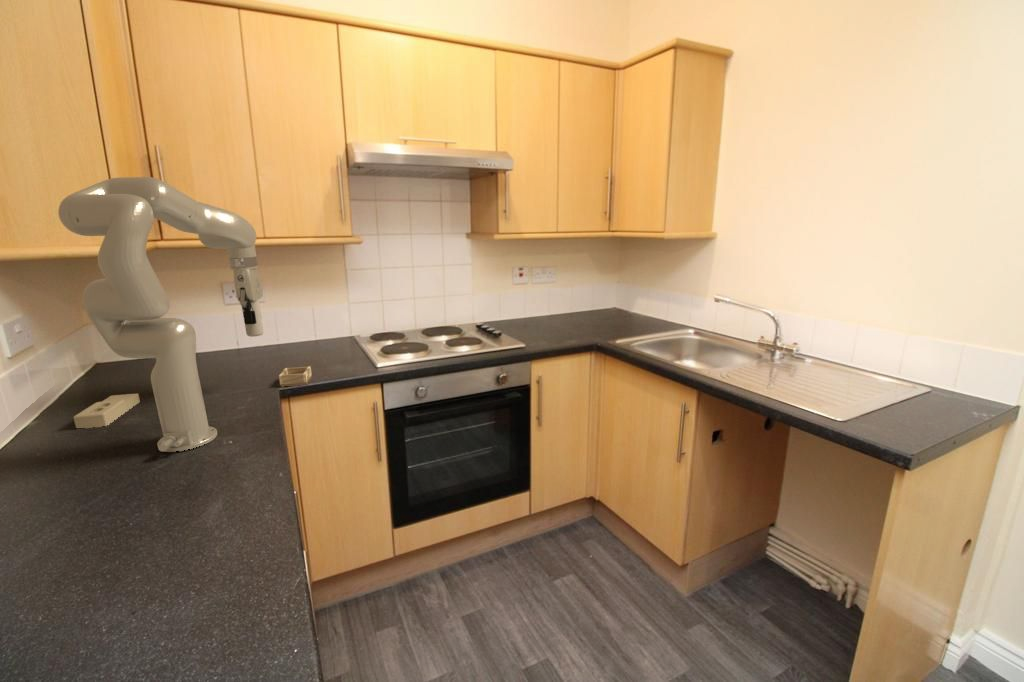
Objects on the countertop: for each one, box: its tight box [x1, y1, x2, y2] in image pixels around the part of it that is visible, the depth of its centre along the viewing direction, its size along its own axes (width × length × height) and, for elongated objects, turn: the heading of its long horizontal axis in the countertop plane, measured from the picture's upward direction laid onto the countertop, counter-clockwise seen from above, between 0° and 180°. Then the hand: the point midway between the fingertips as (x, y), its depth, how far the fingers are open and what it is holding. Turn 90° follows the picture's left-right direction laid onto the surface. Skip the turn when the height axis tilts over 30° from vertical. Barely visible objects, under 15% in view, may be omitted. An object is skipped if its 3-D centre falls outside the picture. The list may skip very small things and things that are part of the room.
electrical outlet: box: [73, 392, 141, 429], centre depth 138 cm, size 7×4×18 cm
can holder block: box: [278, 365, 313, 386], centre depth 162 cm, size 8×8×4 cm
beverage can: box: [242, 299, 264, 338], centre depth 150 cm, size 5×5×12 cm
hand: (253, 321), depth 151 cm, fingers closed on beverage can, 4 cm apart
